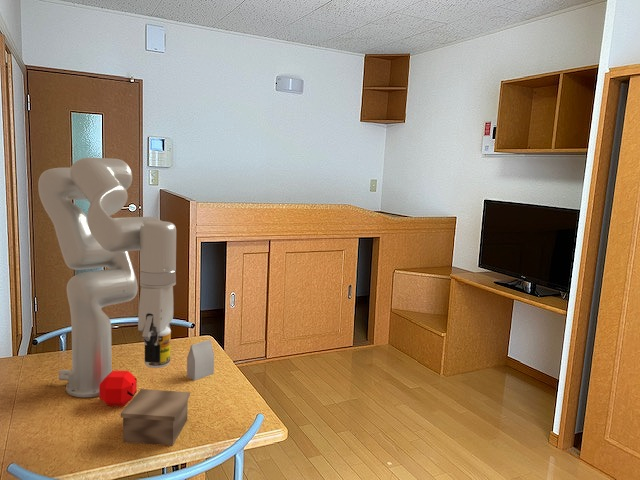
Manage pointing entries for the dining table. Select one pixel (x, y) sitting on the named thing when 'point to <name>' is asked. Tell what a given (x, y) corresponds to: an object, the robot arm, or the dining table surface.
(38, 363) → the dining table surface
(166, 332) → the supplement bottle
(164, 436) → the walnut box
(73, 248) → the robot arm
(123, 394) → the ball
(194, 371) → the white carton
